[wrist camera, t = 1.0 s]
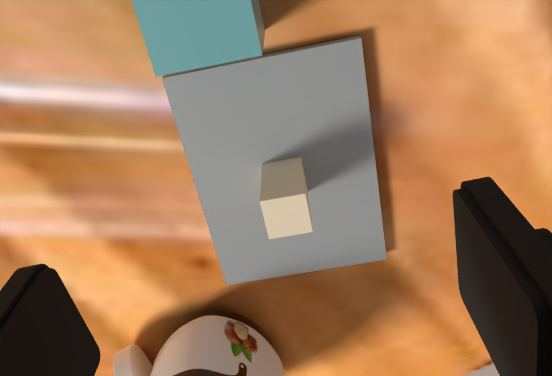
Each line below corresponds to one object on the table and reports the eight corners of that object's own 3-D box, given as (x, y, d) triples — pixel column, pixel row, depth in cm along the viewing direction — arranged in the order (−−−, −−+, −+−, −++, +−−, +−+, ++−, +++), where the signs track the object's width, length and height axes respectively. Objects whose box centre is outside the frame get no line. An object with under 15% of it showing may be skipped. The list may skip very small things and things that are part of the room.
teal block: (152, -48, 27) (118, -41, 21) (245, -68, 26) (236, -68, 20) (180, 47, 29) (156, 76, 23) (265, 29, 29) (262, 55, 23)
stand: (164, 74, 30) (141, 104, 25) (359, 35, 29) (377, 58, 24) (227, 278, 37) (219, 334, 32) (384, 253, 36) (402, 306, 31)
